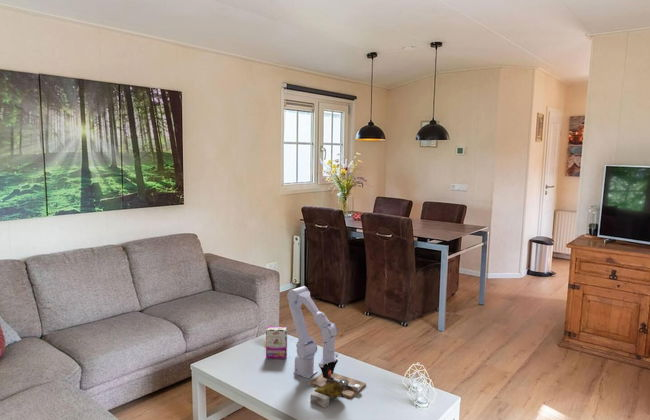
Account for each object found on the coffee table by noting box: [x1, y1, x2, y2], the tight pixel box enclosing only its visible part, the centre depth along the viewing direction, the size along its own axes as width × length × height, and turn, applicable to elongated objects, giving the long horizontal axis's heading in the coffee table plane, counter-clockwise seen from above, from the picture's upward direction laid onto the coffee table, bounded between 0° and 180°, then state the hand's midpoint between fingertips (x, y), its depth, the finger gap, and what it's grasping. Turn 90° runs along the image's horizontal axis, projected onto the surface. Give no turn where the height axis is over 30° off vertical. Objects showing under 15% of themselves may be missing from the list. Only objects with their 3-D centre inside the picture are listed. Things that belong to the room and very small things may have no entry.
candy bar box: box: [265, 326, 288, 360], centre depth 250 cm, size 11×5×16 cm, turn 88°
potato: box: [314, 382, 343, 399], centre depth 210 cm, size 8×13×8 cm, turn 61°
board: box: [308, 372, 367, 409], centre depth 217 cm, size 23×28×4 cm
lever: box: [327, 369, 361, 393], centre depth 220 cm, size 19×4×5 cm, turn 58°
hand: (328, 375), depth 224 cm, fingers open, 4 cm apart
